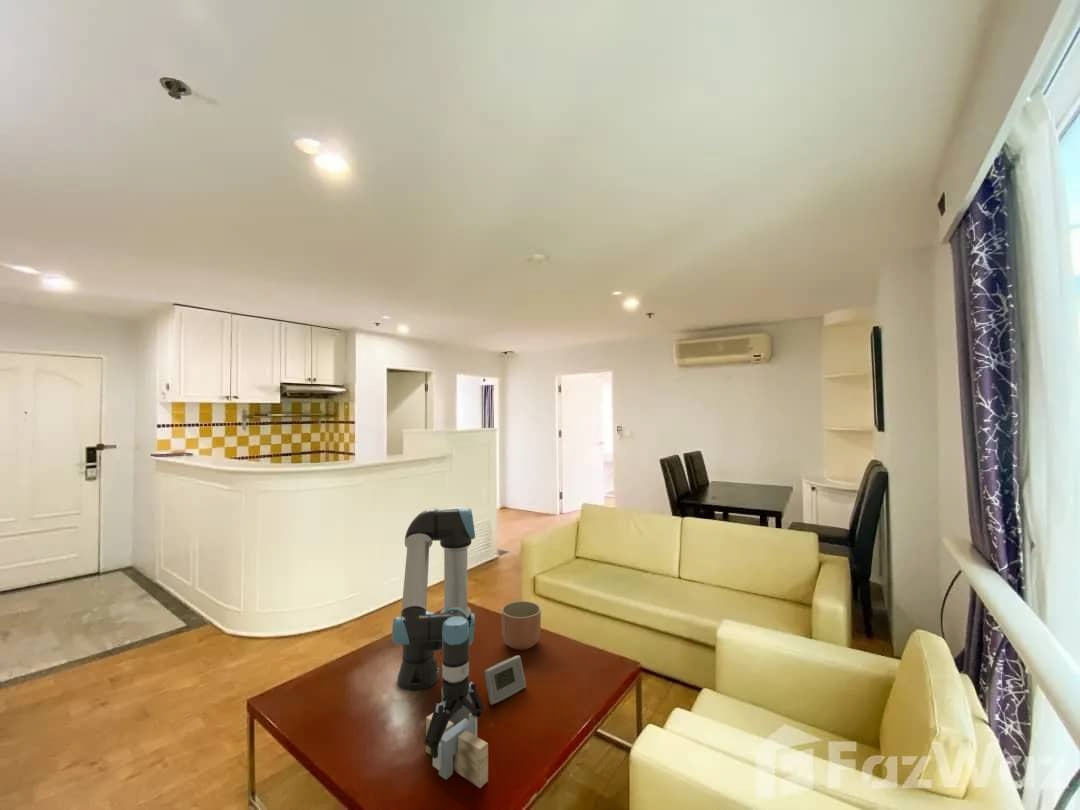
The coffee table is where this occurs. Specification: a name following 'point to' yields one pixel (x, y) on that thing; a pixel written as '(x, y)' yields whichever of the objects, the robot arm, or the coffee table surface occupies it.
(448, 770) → the bridge plate
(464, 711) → the coffee mug
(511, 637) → the planter
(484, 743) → the maple rail
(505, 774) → the coffee table surface
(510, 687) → the digital clock
